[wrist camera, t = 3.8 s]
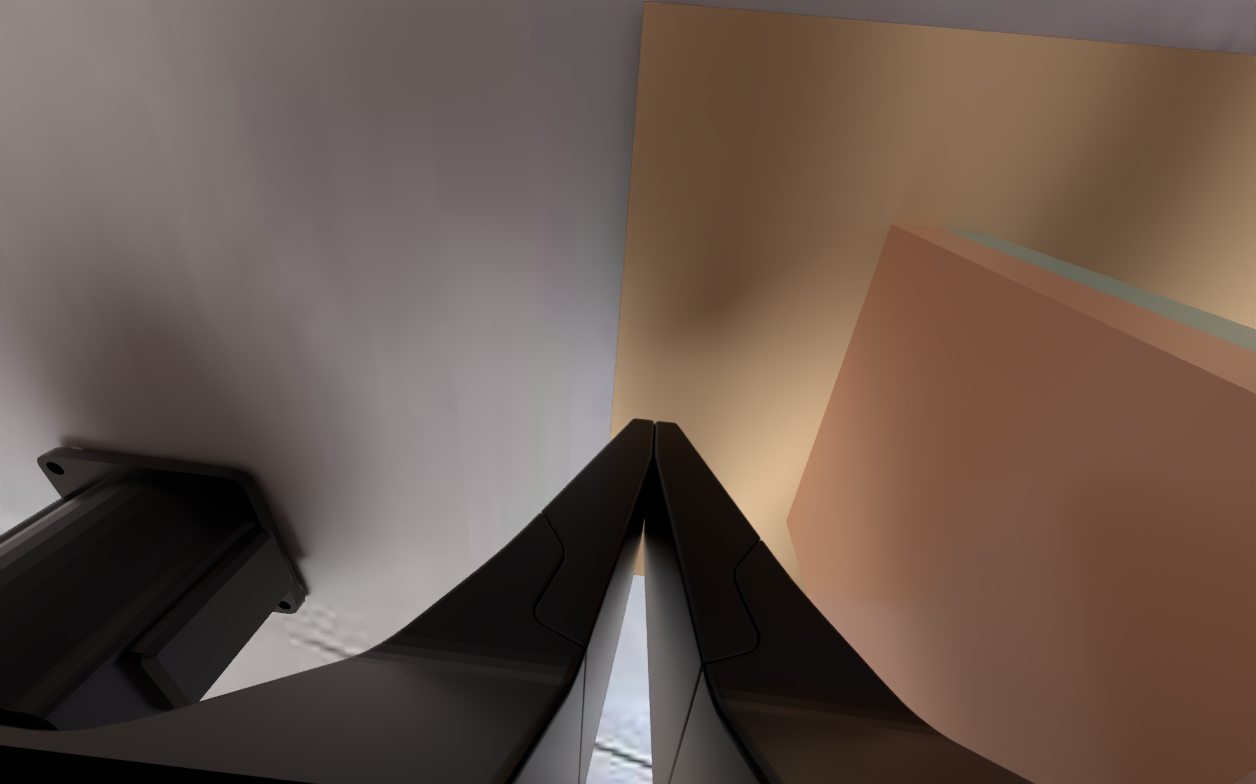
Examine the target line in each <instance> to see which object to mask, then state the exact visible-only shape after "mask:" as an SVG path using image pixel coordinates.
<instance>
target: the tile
mask: <svg viewBox="0 0 1256 784" xmlns="http://www.w3.org/2000/svg"><path fill="white" fill-rule="evenodd" d="M786 523H787V527H788V530H789V534H790V537H791V541H792V544H793V548H794V551H795V555H796V559H797V562H798V566H799V569H800V573H801V576H802V580H803V583H804V587H805V590H806V594H807V597H808V598H809V599H810V600H811V602H812V603H813V604H814V605H815V606H816V607H817V608H818V610H819V611H820V612H821V613H822V614H823V615H824V616H825V617H826V619H827V620H828V621H829V622H830V623H831V624H832V625H833V626H834V627H835V629H836V630H837V631H838V632H839V633H840V634H841V635H842V636H843V637H844V638H845V640H846V641H847V642H848V643H849V644H850V645H851V646H852V647H853V648H854V650H855V651H856V652H857V653H858V654H859V655H860V656H861V657H862V658H863V659H864V661H865V662H866V663H867V664H868V665H869V666H870V667H871V668H872V669H873V670H874V672H875V673H876V674H877V675H878V676H879V677H880V678H881V679H882V680H883V682H884V683H885V684H886V685H887V686H888V687H889V688H890V689H891V690H892V691H893V692H894V693H895V694H896V695H897V696H898V697H899V698H900V700H901V701H902V702H903V703H905V704H906V705H907V706H908V707H909V708H910V709H911V710H912V711H913V712H914V713H916V714H917V715H918V716H919V717H920V718H921V719H923V720H924V721H925V722H927V723H928V724H929V725H930V726H932V727H933V728H934V729H936V730H937V731H939V732H940V733H942V734H943V735H945V736H946V737H948V738H949V739H951V740H953V741H955V742H957V743H958V744H960V745H962V746H964V747H966V748H968V749H970V750H972V751H974V752H975V753H977V754H979V755H981V756H983V757H985V758H987V759H989V760H991V761H993V762H995V763H997V764H998V765H1000V766H1002V767H1004V768H1006V769H1008V770H1010V771H1012V772H1014V773H1016V774H1018V775H1020V776H1021V777H1023V778H1025V779H1027V780H1029V781H1031V782H1033V783H1035V784H1256V329H1254V328H1251V327H1248V326H1245V325H1242V324H1240V323H1237V322H1234V321H1231V320H1228V319H1226V318H1223V317H1220V316H1217V315H1214V314H1211V313H1209V312H1206V311H1203V310H1200V309H1197V308H1195V307H1192V306H1189V305H1186V304H1183V303H1181V302H1178V301H1175V300H1172V299H1169V298H1166V297H1164V296H1161V295H1158V294H1155V293H1152V292H1150V291H1147V290H1144V289H1141V288H1138V287H1136V286H1133V285H1130V284H1127V283H1124V282H1122V281H1119V280H1116V279H1113V278H1110V277H1107V276H1105V275H1102V274H1099V273H1096V272H1093V271H1091V270H1088V269H1085V268H1082V267H1079V266H1077V265H1074V264H1071V263H1068V262H1065V261H1063V260H1060V259H1057V258H1054V257H1051V256H1048V255H1046V254H1043V253H1040V252H1037V251H1034V250H1032V249H1029V248H1026V247H1023V246H1020V245H1018V244H1015V243H1012V242H1009V241H1006V240H1003V239H1001V238H998V237H995V236H992V235H989V234H987V233H977V232H968V231H958V230H948V229H938V228H928V227H918V226H908V225H899V224H891V227H890V229H889V232H888V235H887V238H886V241H885V244H884V246H883V249H882V252H881V255H880V258H879V260H878V263H877V266H876V269H875V272H874V275H873V277H872V280H871V283H870V286H869V289H868V292H867V294H866V297H865V300H864V303H863V306H862V309H861V311H860V314H859V317H858V320H857V323H856V325H855V328H854V331H853V334H852V337H851V340H850V342H849V345H848V348H847V351H846V354H845V357H844V359H843V362H842V365H841V368H840V371H839V374H838V376H837V379H836V382H835V385H834V388H833V390H832V393H831V396H830V399H829V402H828V405H827V407H826V410H825V413H824V416H823V419H822V422H821V424H820V427H819V430H818V433H817V436H816V439H815V441H814V444H813V447H812V450H811V453H810V455H809V458H808V461H807V464H806V467H805V470H804V472H803V475H802V478H801V481H800V484H799V487H798V489H797V492H796V495H795V498H794V501H793V503H792V506H791V509H790V512H789V515H788V518H787V520H786Z"/></svg>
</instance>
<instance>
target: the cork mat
mask: <svg viewBox="0 0 1256 784" xmlns="http://www.w3.org/2000/svg"><path fill="white" fill-rule="evenodd" d="M891 224H899V225H908V226H918V227H928V228H938V229H948V230H958V231H968V232H977V233H987V234H989V235H992V236H995V237H998V238H1001V239H1003V240H1006V241H1009V242H1012V243H1015V244H1018V245H1020V246H1023V247H1026V248H1029V249H1032V250H1034V251H1037V252H1040V253H1043V254H1046V255H1048V256H1051V257H1054V258H1057V259H1060V260H1063V261H1065V262H1068V263H1071V264H1074V265H1077V266H1079V267H1082V268H1085V269H1088V270H1091V271H1093V272H1096V273H1099V274H1102V275H1105V276H1107V277H1110V278H1113V279H1116V280H1119V281H1122V282H1124V283H1127V284H1130V285H1133V286H1136V287H1138V288H1141V289H1144V290H1147V291H1150V292H1152V293H1155V294H1158V295H1161V296H1164V297H1166V298H1169V299H1172V300H1175V301H1178V302H1181V303H1183V304H1186V305H1189V306H1192V307H1195V308H1197V309H1200V310H1203V311H1206V312H1209V313H1211V314H1214V315H1217V316H1220V317H1223V318H1226V319H1228V320H1231V321H1234V322H1237V323H1240V324H1242V325H1245V326H1248V327H1251V328H1254V329H1256V55H1250V54H1239V53H1227V52H1216V51H1205V50H1193V49H1182V48H1171V47H1160V46H1148V45H1137V44H1126V43H1114V42H1103V41H1092V40H1080V39H1069V38H1058V37H1046V36H1035V35H1024V34H1012V33H1001V32H990V31H978V30H967V29H956V28H945V27H933V26H922V25H911V24H899V23H888V22H877V21H865V20H854V19H843V18H831V17H820V16H809V15H797V14H786V13H775V12H764V11H752V10H741V9H730V8H718V7H707V6H696V5H684V4H673V3H662V2H650V1H644V9H643V22H642V35H641V48H640V61H639V73H638V86H637V99H636V112H635V125H634V138H633V150H632V163H631V176H630V189H629V202H628V214H627V227H626V240H625V253H624V266H623V279H622V291H621V304H620V317H619V330H618V343H617V356H616V368H615V381H614V394H613V407H612V420H611V432H610V441H611V440H612V439H613V438H614V437H615V436H616V435H617V434H618V433H619V432H620V431H621V430H622V429H623V428H624V427H625V426H626V425H627V424H628V423H629V422H630V421H631V420H632V419H634V418H638V419H647V420H652V421H654V424H655V423H656V422H657V421H664V422H674V423H677V424H678V425H679V427H680V428H681V429H682V431H683V432H684V433H685V435H686V436H687V438H688V439H689V440H690V442H691V443H692V444H693V446H694V447H695V448H696V450H697V451H698V453H699V454H700V455H701V457H702V458H703V459H704V461H705V462H706V464H707V465H708V466H709V468H710V469H711V470H712V472H713V473H714V474H715V476H716V477H717V479H718V480H719V481H720V483H721V484H722V485H723V487H724V488H725V489H726V491H727V492H728V494H729V495H730V496H731V498H732V499H733V500H734V502H735V503H736V504H737V506H738V507H739V509H740V510H741V511H742V513H743V514H744V515H745V517H746V518H747V520H748V521H749V522H750V524H751V525H752V526H753V528H754V529H755V530H756V532H757V533H758V535H759V536H760V538H761V540H763V541H764V542H765V544H766V545H767V547H768V548H769V549H770V551H771V552H772V553H773V555H774V556H775V557H776V559H777V560H778V561H779V563H780V564H781V565H782V566H783V568H784V569H785V570H786V572H787V573H788V574H789V575H790V577H791V578H792V579H793V581H794V582H795V583H796V584H797V585H798V586H799V588H800V589H801V590H802V591H803V592H804V593H805V595H806V596H807V594H806V590H805V587H804V583H803V580H802V576H801V573H800V569H799V566H798V562H797V559H796V555H795V551H794V548H793V544H792V541H791V537H790V534H789V530H788V527H787V523H786V520H787V518H788V515H789V512H790V509H791V506H792V503H793V501H794V498H795V495H796V492H797V489H798V487H799V484H800V481H801V478H802V475H803V472H804V470H805V467H806V464H807V461H808V458H809V455H810V453H811V450H812V447H813V444H814V441H815V439H816V436H817V433H818V430H819V427H820V424H821V422H822V419H823V416H824V413H825V410H826V407H827V405H828V402H829V399H830V396H831V393H832V390H833V388H834V385H835V382H836V379H837V376H838V374H839V371H840V368H841V365H842V362H843V359H844V357H845V354H846V351H847V348H848V345H849V342H850V340H851V337H852V334H853V331H854V328H855V325H856V323H857V320H858V317H859V314H860V311H861V309H862V306H863V303H864V300H865V297H866V294H867V292H868V289H869V286H870V283H871V280H872V277H873V275H874V272H875V269H876V266H877V263H878V260H879V258H880V255H881V252H882V249H883V246H884V244H885V241H886V238H887V235H888V232H889V229H890V227H891ZM644 519H645V518H644ZM643 533H644V526H643ZM643 533H642V539H641V544H640V549H639V553H638V557H637V562H636V566H635V570H634V575H642V576H645V573H644V548H643Z"/></svg>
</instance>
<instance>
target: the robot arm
mask: <svg viewBox="0 0 1256 784" xmlns="http://www.w3.org/2000/svg"><path fill="white" fill-rule="evenodd" d="M37 462H38V464H39V466H40V468H41V469H42V471H43V472H44V473H45V475H46V476H47V478H48V479H49V480H50V482H51V483H52V485H53V486H54V487H55V489H56V490H57V492H58V493H59V494H60V496H61V497H62V498H61V499H59V500H57V501H56V502H54V503H52V504H51V505H49V506H48V507H46V508H44V509H43V510H41V511H39V512H38V513H36V514H35V515H33V516H31V517H30V518H28V519H26V520H25V521H23V522H22V523H20V524H18V525H17V526H15V527H13V528H12V529H10V530H8V531H7V532H5V533H4V534H2V535H0V784H585V783H586V779H587V774H588V770H589V766H590V761H591V757H592V753H593V748H594V744H595V740H596V735H597V731H598V727H599V722H600V718H601V714H602V709H603V705H604V701H605V696H606V692H607V688H608V683H609V679H610V675H611V670H612V666H613V662H614V657H615V653H616V649H617V644H618V640H619V636H620V631H621V627H622V623H623V618H624V614H625V610H626V605H627V601H628V597H629V592H630V588H631V584H632V579H633V575H634V570H635V566H636V562H637V557H638V553H639V549H640V544H641V539H642V533H643V526H644V533H643V548H644V573H645V598H646V623H647V648H648V674H649V699H650V724H651V749H652V774H653V784H1035V783H1033V782H1031V781H1029V780H1027V779H1025V778H1023V777H1021V776H1020V775H1018V774H1016V773H1014V772H1012V771H1010V770H1008V769H1006V768H1004V767H1002V766H1000V765H998V764H997V763H995V762H993V761H991V760H989V759H987V758H985V757H983V756H981V755H979V754H977V753H975V752H974V751H972V750H970V749H968V748H966V747H964V746H962V745H960V744H958V743H957V742H955V741H953V740H951V739H949V738H948V737H946V736H945V735H943V734H942V733H940V732H939V731H937V730H936V729H934V728H933V727H932V726H930V725H929V724H928V723H927V722H925V721H924V720H923V719H921V718H920V717H919V716H918V715H917V714H916V713H914V712H913V711H912V710H911V709H910V708H909V707H908V706H907V705H906V704H905V703H903V702H902V701H901V700H900V698H899V697H898V696H897V695H896V694H895V693H894V692H893V691H892V690H891V689H890V688H889V687H888V686H887V685H886V684H885V683H884V682H883V680H882V679H881V678H880V677H879V676H878V675H877V674H876V673H875V672H874V670H873V669H872V668H871V667H870V666H869V665H868V664H867V663H866V662H865V661H864V659H863V658H862V657H861V656H860V655H859V654H858V653H857V652H856V651H855V650H854V648H853V647H852V646H851V645H850V644H849V643H848V642H847V641H846V640H845V638H844V637H843V636H842V635H841V634H840V633H839V632H838V631H837V630H836V629H835V627H834V626H833V625H832V624H831V623H830V622H829V621H828V620H827V619H826V617H825V616H824V615H823V614H822V613H821V612H820V611H819V610H818V608H817V607H816V606H815V605H814V604H813V603H812V602H811V600H810V599H809V598H808V597H807V596H806V595H805V593H804V592H803V591H802V590H801V589H800V588H799V586H798V585H797V584H796V583H795V582H794V581H793V579H792V578H791V577H790V575H789V574H788V573H787V572H786V570H785V569H784V568H783V566H782V565H781V564H780V563H779V561H778V560H777V559H776V557H775V556H774V555H773V553H772V552H771V551H770V549H769V548H768V547H767V545H766V544H765V542H764V541H763V540H761V538H760V536H759V535H758V533H757V532H756V530H755V529H754V528H753V526H752V525H751V524H750V522H749V521H748V520H747V518H746V517H745V515H744V514H743V513H742V511H741V510H740V509H739V507H738V506H737V504H736V503H735V502H734V500H733V499H732V498H731V496H730V495H729V494H728V492H727V491H726V489H725V488H724V487H723V485H722V484H721V483H720V481H719V480H718V479H717V477H716V476H715V474H714V473H713V472H712V470H711V469H710V468H709V466H708V465H707V464H706V462H705V461H704V459H703V458H702V457H701V455H700V454H699V453H698V451H697V450H696V448H695V447H694V446H693V444H692V443H691V442H690V440H689V439H688V438H687V436H686V435H685V433H684V432H683V431H682V429H681V428H680V427H679V425H678V424H677V423H674V422H664V421H657V422H656V423H655V424H654V421H652V420H647V419H638V418H634V419H632V420H631V421H630V422H629V423H628V424H627V425H626V426H625V427H624V428H623V429H622V430H621V431H620V432H619V433H618V434H617V435H616V436H615V437H614V438H613V439H612V440H611V441H610V442H609V443H608V444H607V445H606V446H605V447H604V448H603V449H602V450H601V451H600V452H599V453H598V454H597V455H596V456H595V457H594V458H593V459H592V460H591V462H590V463H589V464H588V465H587V466H586V467H585V468H584V469H583V470H582V471H581V472H580V473H579V474H578V475H577V476H576V477H575V478H574V479H573V480H572V481H571V482H570V483H569V484H568V485H567V486H566V487H565V488H564V489H563V490H562V491H561V492H560V493H559V494H558V495H557V496H556V497H555V498H554V499H553V500H552V501H551V502H550V503H549V504H548V505H547V506H546V507H545V508H544V509H543V510H542V512H541V513H539V514H538V515H537V516H536V517H535V518H534V519H533V520H532V521H531V522H530V523H529V524H528V525H527V526H526V527H525V528H524V529H523V530H522V531H521V532H520V533H519V534H518V535H517V536H515V537H514V538H513V539H512V540H511V541H510V542H509V543H508V544H507V545H506V546H505V547H504V548H502V549H501V550H500V551H499V552H498V553H496V554H495V555H494V556H493V557H492V558H490V559H489V560H488V561H487V562H486V563H485V564H483V565H482V566H481V567H480V568H479V569H477V570H476V571H475V572H474V573H472V574H471V575H470V576H468V577H467V578H466V579H465V580H463V581H462V582H461V583H460V584H458V585H457V586H456V587H455V588H453V589H452V590H451V591H450V592H448V593H447V594H446V595H445V596H443V597H442V598H441V599H439V600H438V601H437V602H436V603H434V604H433V605H432V606H431V607H429V608H428V609H427V610H426V611H424V612H423V613H422V614H421V615H419V616H418V617H417V618H416V619H414V620H413V621H412V622H410V623H409V624H408V625H407V626H405V627H404V628H402V629H401V630H400V631H398V632H397V633H396V634H394V635H393V636H391V637H390V638H388V639H386V640H385V641H383V642H382V643H380V644H378V645H376V646H374V647H373V648H371V649H369V650H367V651H365V652H363V653H360V654H358V655H356V656H353V657H350V658H347V659H344V660H341V661H338V662H334V663H331V664H327V665H324V666H320V667H317V668H314V669H310V670H307V671H303V672H300V673H296V674H293V675H289V676H286V677H283V678H279V679H276V680H272V681H269V682H265V683H262V684H258V685H255V686H251V687H248V688H245V689H241V690H238V691H234V692H231V693H227V694H224V695H220V696H217V697H213V698H210V699H207V700H203V701H200V700H201V698H202V697H203V696H204V695H205V694H206V692H207V691H208V690H209V689H210V687H211V686H212V685H213V684H214V683H215V681H216V680H217V679H218V678H219V676H220V675H221V674H222V673H223V672H224V670H225V669H226V668H227V667H228V665H229V664H230V663H231V662H232V661H233V659H234V658H235V657H236V656H237V654H238V653H239V652H240V651H241V650H242V648H243V647H244V646H245V645H246V643H247V642H248V641H249V640H250V639H251V637H252V636H253V635H254V634H255V632H256V631H257V630H258V629H259V628H260V626H261V625H262V624H263V623H264V621H265V620H266V619H267V618H268V616H269V615H270V614H271V613H272V612H279V613H286V614H293V613H296V612H297V610H298V609H299V608H300V607H301V605H302V604H303V603H304V601H305V596H304V594H303V592H302V589H301V587H300V585H299V582H298V580H297V577H296V575H295V573H294V570H293V568H292V566H291V563H290V561H289V558H288V556H287V554H286V551H285V549H284V547H283V544H282V542H281V539H280V537H279V535H278V532H277V530H276V528H275V525H274V523H273V521H272V518H271V516H270V513H269V511H268V509H267V506H266V504H265V502H264V499H263V497H262V494H261V492H260V490H259V487H258V485H257V483H256V481H255V480H254V478H253V477H251V476H250V475H249V474H248V473H246V472H244V471H242V470H239V469H234V468H226V467H218V466H209V465H201V464H193V463H185V462H177V461H168V460H160V459H152V458H144V457H136V456H128V455H119V454H111V453H103V452H95V451H87V450H78V449H70V448H62V447H60V448H55V449H53V450H51V451H49V452H47V453H45V454H43V455H41V456H40V457H38V459H37ZM644 518H645V519H644ZM199 701H200V702H199Z"/></svg>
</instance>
